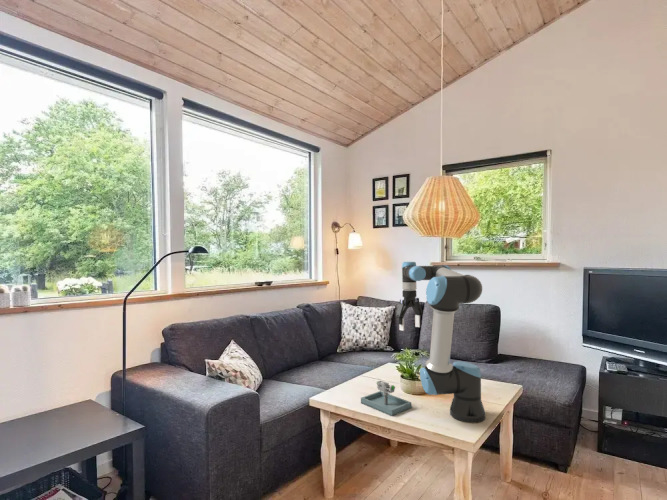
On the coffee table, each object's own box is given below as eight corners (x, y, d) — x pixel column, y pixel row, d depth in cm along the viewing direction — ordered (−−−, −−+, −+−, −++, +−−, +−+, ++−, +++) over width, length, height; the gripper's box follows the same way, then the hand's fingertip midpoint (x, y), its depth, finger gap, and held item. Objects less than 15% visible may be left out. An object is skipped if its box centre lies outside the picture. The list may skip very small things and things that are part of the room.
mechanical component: (392, 408, 180) (391, 386, 180) (376, 402, 188) (375, 381, 188) (396, 406, 182) (395, 385, 182) (380, 400, 190) (379, 380, 190)
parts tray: (411, 407, 182) (411, 402, 182) (391, 416, 173) (391, 410, 173) (380, 395, 197) (380, 390, 197) (360, 403, 188) (360, 397, 188)
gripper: (418, 287, 221) (418, 324, 221) (388, 291, 204) (389, 330, 204) (428, 288, 215) (429, 326, 215) (399, 292, 199) (400, 333, 199)
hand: (409, 328), depth 210 cm, fingers open, 13 cm apart
